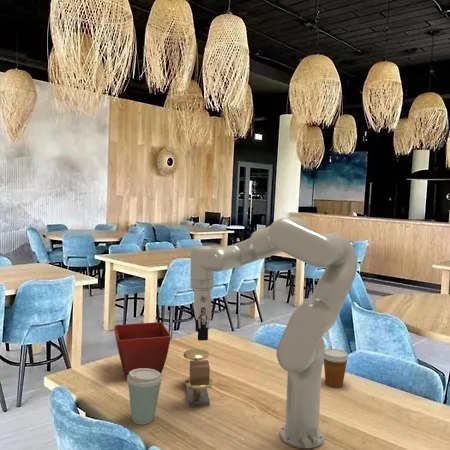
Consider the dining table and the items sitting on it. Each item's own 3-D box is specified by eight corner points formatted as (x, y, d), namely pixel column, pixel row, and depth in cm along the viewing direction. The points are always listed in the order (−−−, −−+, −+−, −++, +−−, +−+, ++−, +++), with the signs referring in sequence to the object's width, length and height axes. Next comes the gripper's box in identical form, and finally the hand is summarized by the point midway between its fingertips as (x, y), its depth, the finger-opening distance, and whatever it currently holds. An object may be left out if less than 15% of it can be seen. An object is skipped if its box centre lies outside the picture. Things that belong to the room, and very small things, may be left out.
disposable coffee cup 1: (142, 408, 143) (143, 362, 142) (168, 417, 137) (169, 370, 136) (118, 421, 134) (119, 373, 133) (145, 432, 128) (146, 382, 127)
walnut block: (209, 384, 144) (209, 366, 144) (190, 385, 143) (191, 367, 143) (207, 377, 150) (207, 360, 150) (189, 377, 149) (190, 360, 149)
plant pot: (117, 385, 159) (118, 339, 158) (113, 366, 177) (114, 324, 176) (170, 380, 165) (171, 336, 164) (161, 362, 183) (162, 321, 182)
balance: (213, 409, 143) (214, 373, 143) (185, 410, 142) (186, 374, 141) (206, 380, 166) (207, 349, 165) (182, 381, 165) (183, 349, 164)
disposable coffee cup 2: (318, 385, 164) (319, 354, 164) (324, 376, 173) (326, 346, 172) (343, 391, 160) (345, 359, 159) (349, 382, 168) (351, 351, 168)
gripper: (216, 288, 137) (216, 343, 137) (210, 279, 154) (209, 327, 155) (192, 289, 135) (191, 344, 136) (188, 279, 153) (188, 328, 153)
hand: (201, 335), depth 145 cm, fingers open, 9 cm apart
